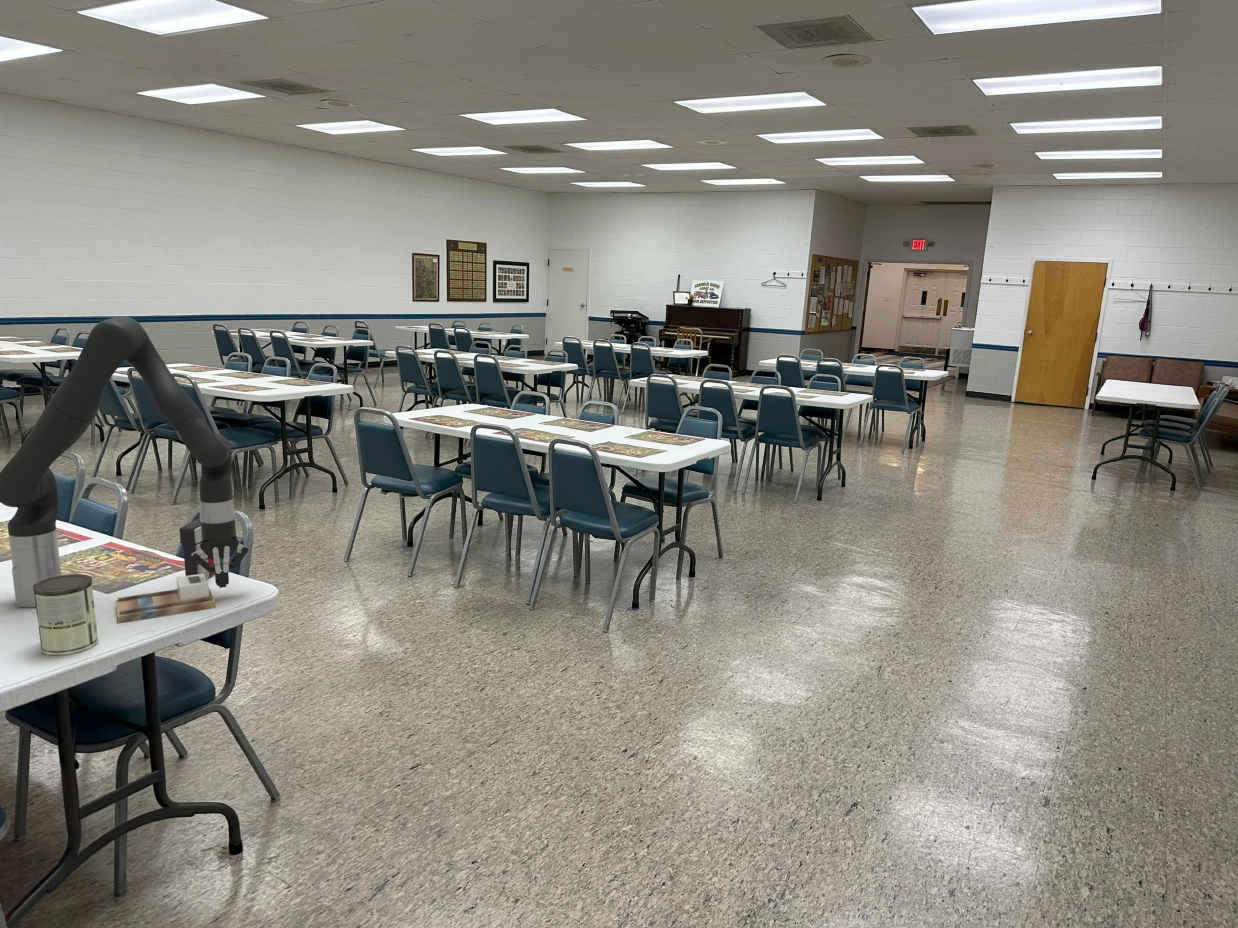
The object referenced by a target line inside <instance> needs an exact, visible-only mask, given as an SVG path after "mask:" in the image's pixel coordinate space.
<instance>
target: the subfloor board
mask: <svg viewBox="0 0 1238 928" xmlns="http://www.w3.org/2000/svg"><path fill="white" fill-rule="evenodd" d="M208 588H209V597H205V598H199V599H192V600H186V601H180V598H179V595H178V590H177V588H175V589H168V590H161V591H155V592H148V593H142V594H136V595H129V596H122V597H117V599H115V602H114V603H115V611H116V619H117V624H120V623H121V624H122V623H127V622H134V621H140V620H147V619H151V618H159V617H165V616H171V615H177V614H183V613H189V612H191V613H192V612H197V611H202V610H208V609H213V608H217V607H216V600H215V598H214V595H213V594H212V591H211V589H210V586H209V585H208Z"/></svg>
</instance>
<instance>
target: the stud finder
mask: <svg viewBox="0 0 1238 928" xmlns="http://www.w3.org/2000/svg"><path fill="white" fill-rule="evenodd" d="M208 586H209V582H208V578H207V579H206V577H205V575H204V574H197V575H189V576H186V575H183V576H178V577H176V587H177V588H176V589H177V590H178V595H179V598H180V601H186V600H192V599H199V598H205V597H209V588H210V587H209V588H208Z"/></svg>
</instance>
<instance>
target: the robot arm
mask: <svg viewBox="0 0 1238 928" xmlns="http://www.w3.org/2000/svg"><path fill="white" fill-rule="evenodd" d="M125 361H126V362H127V363H129V364H130V365H131V366H132V367H133V368H134V369H135V371H136V372H137V373H138V374H139V376H140V377H141V380H143V383H144V384H145V386H146V387H147V390H148V393H149V394H150V396H151V400H152V401H153V403H154V406H156V409H157V410H158V411H159V413H160V414H161V415H162V416H163V418H165V420H166V421H167V422H168V423H169V424H170V426H171V427H172V428H173V429H174V430H175V432H177V433H178V435H179V436H180V438H181V440H182V441H183V444H184V445H185V446H186V448H187V450H188V451H189V453H190V454H191V456H192V457H193V458H194V459H195V460H196V462H197V463H199V465H200V468H201V475H200V479H199V484H198V488H199V501H200V503H199V518H200V520H201V533H202V542H201V544H200V548H199V549H198V550H197V551H196V552H192V553H191V555H192V557H193V559H194V560H196V561H197V562H198V563H199V564H200V565H201V566H202V567H203V568H204V569H206V570H207V571H208V572H214V573H215V574H214V579H215V584H216V586H218V587H219V589H222V588H227V585H229V583H230V578H229V577H230V576H229V572H230V571H232V570H235V569H237V567H238V566H239V564H241V562H242V560H243V559H244V558H245V557H246V555H247V553H248V552H249V548H248V547H247V545H243V544H242V543H240V541H239V539H238V537H237V527H236V525H237V523H236V513H235V511H236V510H235V505H234V500H233V497H234V496H233V487H232V485H233V484H232V476H231V475H232V461H233V459H232V457H233V456H232V454H233V453H232V445H231V443H230V441H229V440H228V438H227V437H225V436H224V435H222V434H218V433H214V432H213V430H212V429H211V428H210V425H208V424H207V418H206V416H205V415H204V413H203V411H202V410H200V408H199V407H198V406H197V405H196V403H195V402H194V401H193V399H191V397H190V396H189V395H188V394H187V392H186V391H185V390H184V388H183V387H182V386H181V385H180V383H179V382H178V381H177V379H176V378H175V377H174V375H173V374H172V372H171V371H170V369H169V367H168V366H167V364H166V363H165V361H164V360H163V359H162V357H161V355H160V354H159V352H158V351H157V349H156V347H155V345H154V344H153V342H152V340H151V339H150V336H149V335H148V333H147V332H146V331H145V329H144V327H143V326H142V325H141V324H140V322H139V321H137V320H136V319H134V318H132V317H129V316H124V315H123V316H121V315H120V316H115V317H111V318H107V319H103V320H101V321H99V322H98V323H96V324H95V325H94V327H92V329H91V331H90V332H89V335H88V336H87V338H86V340H85V343H84V345H83V348H82V349H81V352H80V353H79V356H78V357H77V360H76V362H75V363H74V365H73V366H72V368H71V369H70V371H69V373H67V375H66V376H65V377H64V379H63V381H61V383H60V385H59V386H58V387H57V389H56V391H55V392H54V394H53V395H52V396H51V398H50V399H49V401H48V402H47V404H46V406H45V407H44V409H43V410H42V412H41V413H40V416H39V417H38V419H37V421H36V422H35V424H34V426H33V427H32V428H31V430H30V432H29V433H28V435H27V436H26V438H25V440H24V441H23V442H22V445H21V446H20V447H19V449H18V450H17V451H16V452H15V454H14V455H13V457H12V458H11V459H10V460H9V461H8V463H7V464H6V465H4V467H3V468H2V469H1V470H0V503H1V505H3V506H5V507H9V508H17V509H16V512H15V514H14V515H13V516H12V517H11V518H10V520H9V521H8V522H7V531H8V540H9V547H10V557H11V564H12V567H11V571H12V572H11V573H12V579H13V580H12V581H13V588H14V597H15V605H16V608H17V609H18V608H36V603H35V595H34V591H33V585H34V584H36V583H37V582H39V581H42V580H44V579H47V578H51V577H56V576H61V575H62V569H61V561H60V560H61V559H60V551H59V542H58V534H57V520H58V517H59V500H58V499H59V497H58V485H57V479H56V477H55V475H54V474H55V473H54V472H53V471H52V469H51V468H50V467H51V465H53V463H54V462H56V460H58V459H59V458H60V457H61V456H62V455H63V454H64V453H66V451H68V450H69V449H70V448H71V447H72V446H73V445H74V444H75V443H76V442H78V441H79V440H80V438H82V436H84V434H85V432H87V430H88V429H89V427H90V425H91V424H92V422H93V420H94V419H95V417H96V416H97V414H98V412H99V410H100V407H101V404H102V399H103V396H104V393H105V388H106V386H107V384H108V382H109V381H110V379H111V378H112V377H113V375H114V373H115V372H116V371H117V370H118V369H119V367H120V366H121V365H122V364H123V363H124V362H125ZM235 551H236V554H235V555H234V557H233V558H232V559H231V560H230V557H232V555H233V554H234V553H235ZM203 552H204V553H205V554H206V555H207V556H208V557H209V558H211V559H213V564H214V566H211V565H210V564H209V563H208V562H207V561H205V560H204V559H203V557H204V555H203ZM220 560H221V561H220Z"/></svg>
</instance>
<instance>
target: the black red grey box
mask: <svg viewBox="0 0 1238 928" xmlns="http://www.w3.org/2000/svg"><path fill="white" fill-rule="evenodd" d="M178 530H179V539H180V541H179V542H180V544H181V545H182V547H183V548H182V550H183V560H184V571H185V572H184V573H185V576H189V575H197V574H204V575H205V577H206V579H207V580H208V578H210V577H212V576H213V575H215V574H214V572H208V571H207V570H206V569H204V568H203V567H202V566H201V565H200V564H199V563H198V562H197V561H196V560H194V559H193V557H192V555H191V553H192V552H196V551H197V550H198V549H199V548H200V544H201V542H202V533H201V520H200V517H198V518H196V519H195V520H192V521H191V522H189V523H187V524H184V525H183V526H180V528H179V529H178ZM203 555H204V557H203V559H204V560H205V561H207V562H208V563H209V564H210V565H211V566H214V564H213V559H211V558H209V557H208V556H207V555H206V554H205V553H204V552H203ZM211 575H212V576H211Z"/></svg>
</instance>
